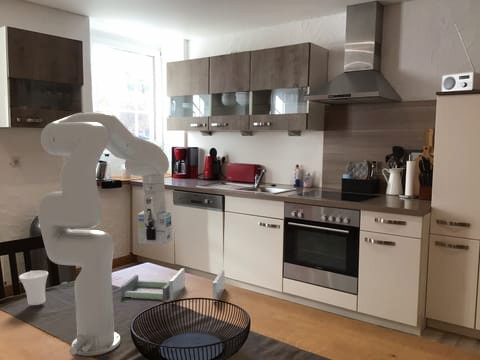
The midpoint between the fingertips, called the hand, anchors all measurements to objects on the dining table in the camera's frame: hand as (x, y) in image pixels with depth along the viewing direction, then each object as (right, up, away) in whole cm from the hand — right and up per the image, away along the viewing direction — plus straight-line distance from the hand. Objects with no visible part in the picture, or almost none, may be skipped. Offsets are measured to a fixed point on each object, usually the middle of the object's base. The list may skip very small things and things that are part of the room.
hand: (155, 237), depth 153 cm
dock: (-2, -20, +3) cm, 21 cm away
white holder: (+15, -20, 0) cm, 26 cm away
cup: (-39, -21, -9) cm, 45 cm away
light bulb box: (0, -2, 0) cm, 2 cm away
